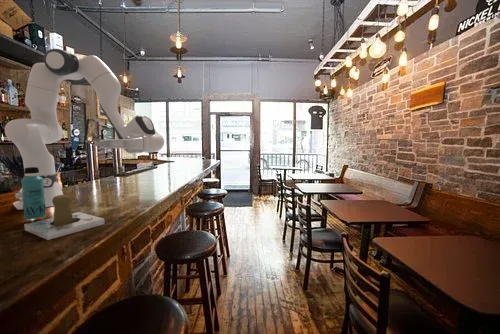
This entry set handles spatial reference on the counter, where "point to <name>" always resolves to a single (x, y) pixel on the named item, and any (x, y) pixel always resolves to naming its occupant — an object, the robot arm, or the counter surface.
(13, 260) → the counter surface
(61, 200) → the olive peg doll
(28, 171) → the beverage bottle
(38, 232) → the jig plate
